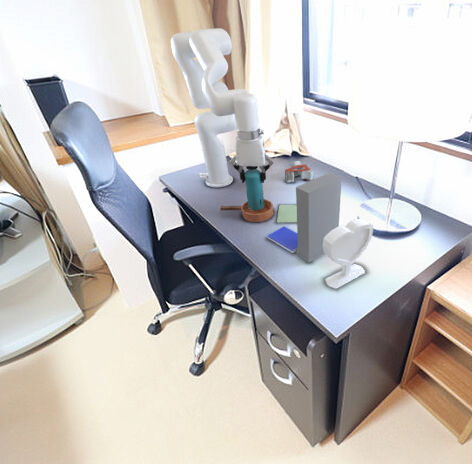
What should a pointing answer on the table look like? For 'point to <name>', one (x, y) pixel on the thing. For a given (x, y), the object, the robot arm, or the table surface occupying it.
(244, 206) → the pan
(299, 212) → the tall grey upright box
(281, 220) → the cloth
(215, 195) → the table surface
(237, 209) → the pan handle
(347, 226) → the heart sculpture
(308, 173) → the tape dispenser
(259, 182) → the beverage bottle
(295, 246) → the hard drive
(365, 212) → the table surface
